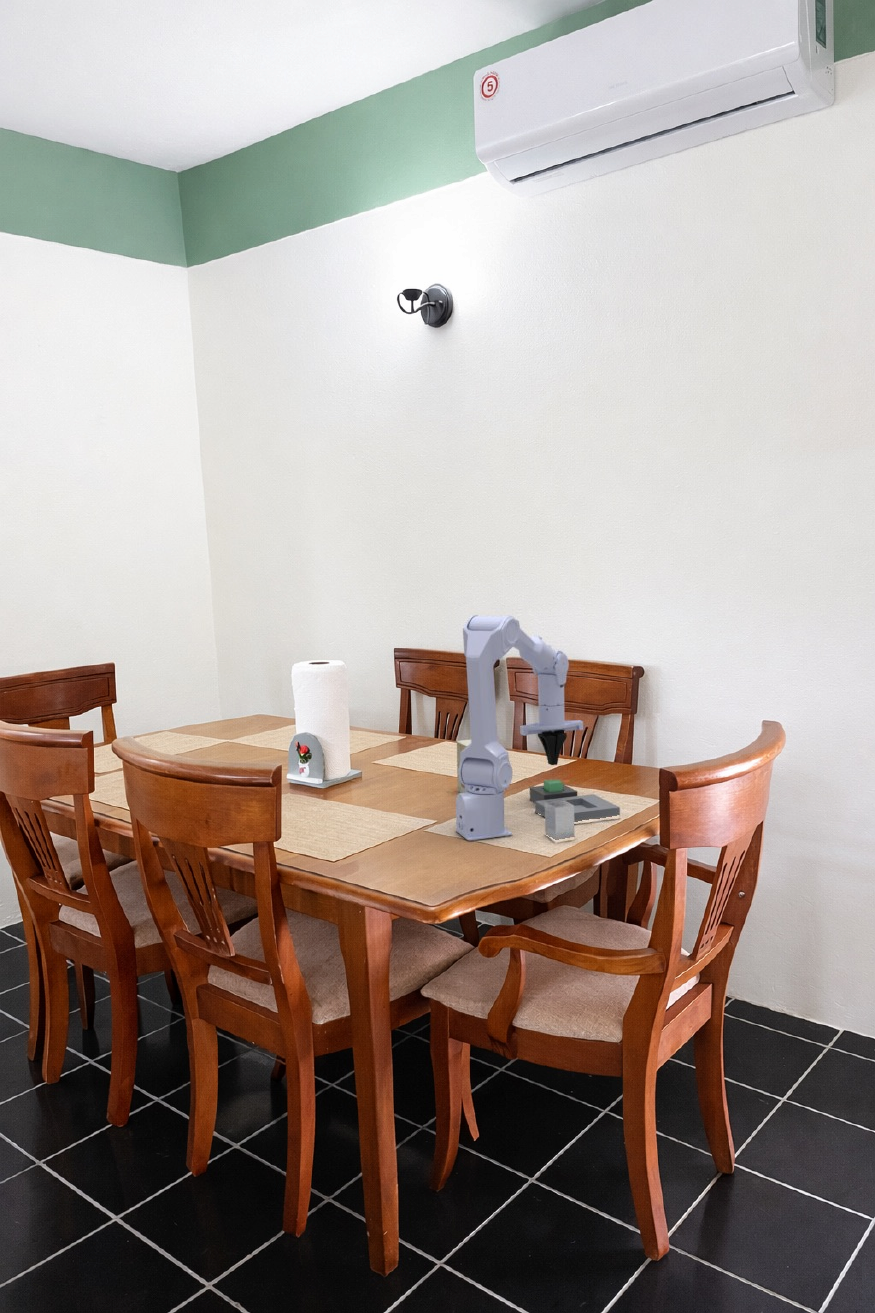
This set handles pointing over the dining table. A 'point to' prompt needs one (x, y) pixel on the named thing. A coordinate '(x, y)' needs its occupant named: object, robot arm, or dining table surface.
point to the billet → (559, 819)
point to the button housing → (550, 793)
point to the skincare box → (460, 747)
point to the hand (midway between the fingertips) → (552, 764)
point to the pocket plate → (584, 807)
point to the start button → (553, 785)
